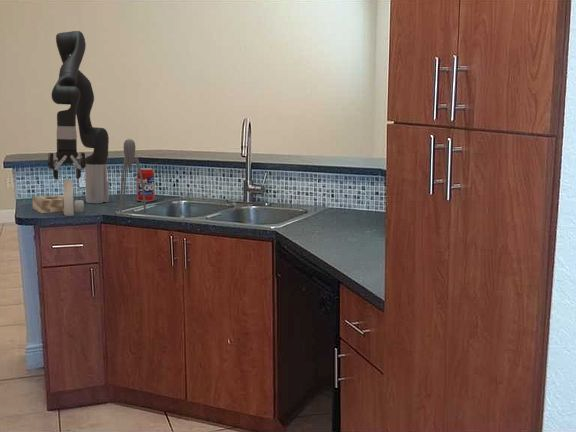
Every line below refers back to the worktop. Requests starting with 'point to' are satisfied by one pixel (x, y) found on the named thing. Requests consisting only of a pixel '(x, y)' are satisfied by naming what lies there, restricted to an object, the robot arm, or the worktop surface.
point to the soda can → (146, 185)
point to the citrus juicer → (128, 160)
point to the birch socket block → (48, 204)
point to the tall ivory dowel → (68, 197)
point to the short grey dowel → (79, 206)
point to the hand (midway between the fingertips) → (67, 179)
